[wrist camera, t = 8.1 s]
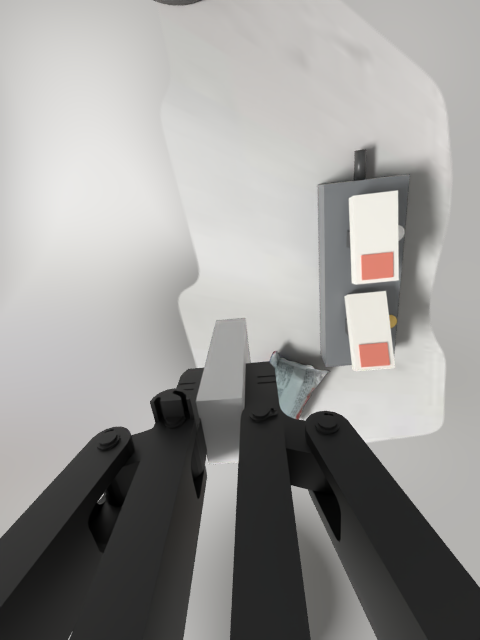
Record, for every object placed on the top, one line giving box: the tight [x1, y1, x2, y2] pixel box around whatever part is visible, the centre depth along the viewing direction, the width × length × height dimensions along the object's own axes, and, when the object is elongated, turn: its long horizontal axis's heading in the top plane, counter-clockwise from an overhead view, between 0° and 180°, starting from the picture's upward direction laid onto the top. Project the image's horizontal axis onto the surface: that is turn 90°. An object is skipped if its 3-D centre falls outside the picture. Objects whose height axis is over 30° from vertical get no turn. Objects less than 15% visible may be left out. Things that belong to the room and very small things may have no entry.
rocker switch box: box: [318, 150, 410, 367], centre depth 39 cm, size 26×9×5 cm, turn 7°
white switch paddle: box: [344, 291, 395, 371], centre depth 38 cm, size 9×4×2 cm, turn 7°
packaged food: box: [269, 351, 330, 420], centre depth 47 cm, size 9×12×5 cm
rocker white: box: [349, 190, 399, 285], centre depth 33 cm, size 9×4×2 cm, turn 7°
